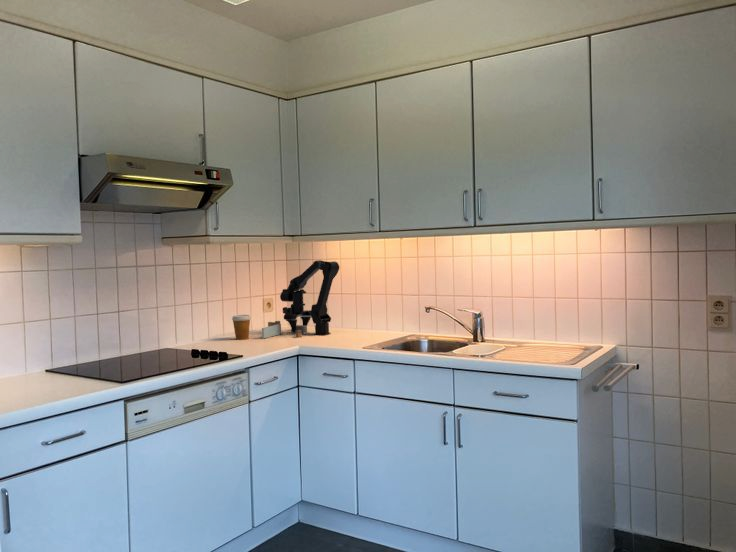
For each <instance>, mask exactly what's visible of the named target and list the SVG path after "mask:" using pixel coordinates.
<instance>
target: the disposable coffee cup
mask: <svg viewBox="0 0 736 552" xmlns="http://www.w3.org/2000/svg"><path fill="white" fill-rule="evenodd" d="M231 320H232V324H233V328H234V329H233V330H234V334H235V339H236V341H237V340H238V341H242V340H243V341H244V340H248V339H249V335H250V323H251V315H250V314H237V315H232V318H231Z"/></svg>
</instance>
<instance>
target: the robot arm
mask: <svg viewBox="0 0 736 552" xmlns="http://www.w3.org/2000/svg"><path fill="white" fill-rule="evenodd" d="M339 270H340V265H339V263H338V262H337V261H336V260H335V261H325V260H320V259H319V260H314V261H313V262H312V263H311V265H310V266H308V268H306V269H305V271H303V272H302V273H300V274H299V275H298V276H295V277H294V278H292V279H291V280H290V281H289V285H288V287H287V288H283V289H282V292H280V297H279V299H280V301H282V302H286V303H287V302H289V303H291V304H290V307H287V306H285V307H282V313H283V314H284V315H283V320H285V321H287V322H288V323H289V326H290V329H291V328H292V331H293V332H295V330H296V325H298V324H297V323H298V319H297V318H298V317H300V319H301V322H302V325H307V326H308V324H309V322H310V321H311V320H312V323H313V324H314V329H315V330H314V333H313V334H314V336H315V335H316V336H327V335H330V334H331V332H330V324H329V323H330V322H331V321H332V317H331V316H330V315H329V313H328V306H327V303H328V298H329V295H330V292H331V287H332V284H333V281H334V278H335V277H336V276H337V275H338V273H339ZM318 271H321V272H322V276H323V279H322V282H321V287H320V290H319V293H318V298H317V301H316V303H315V304H312V305H311V309H310V310H305V307H304V306H306V303H304V294H307V291H306V290H304V288H305V287H306V285H307V283H308V281H309V280H310V279H311V278H312V277H313V276H314V275H315V274H316V273H317V272H318ZM292 331H291V332H292Z"/></svg>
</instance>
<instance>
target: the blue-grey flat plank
mask: <svg viewBox="0 0 736 552" xmlns="http://www.w3.org/2000/svg"><path fill="white" fill-rule="evenodd" d="M279 335H282V324H281V323H280V324H277V325H273V326H269V327H268V326H264V327H261V338H262V339H267V338H270V337H271V338H272V337H275V336H279Z"/></svg>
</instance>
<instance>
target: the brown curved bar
mask: <svg viewBox="0 0 736 552" xmlns="http://www.w3.org/2000/svg"><path fill="white" fill-rule="evenodd" d="M277 324H281V321H280V320H276V321H275V320H274V321H267V327H269V326H273V325H277ZM302 336H303V335H302V334H301V330H296V333H295V337H296V338H302Z"/></svg>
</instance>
